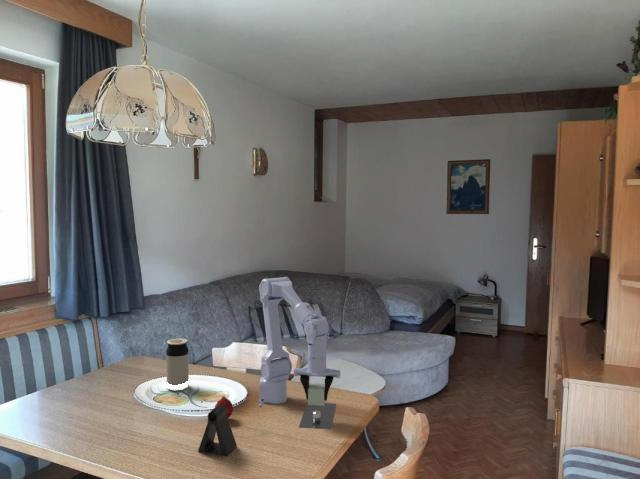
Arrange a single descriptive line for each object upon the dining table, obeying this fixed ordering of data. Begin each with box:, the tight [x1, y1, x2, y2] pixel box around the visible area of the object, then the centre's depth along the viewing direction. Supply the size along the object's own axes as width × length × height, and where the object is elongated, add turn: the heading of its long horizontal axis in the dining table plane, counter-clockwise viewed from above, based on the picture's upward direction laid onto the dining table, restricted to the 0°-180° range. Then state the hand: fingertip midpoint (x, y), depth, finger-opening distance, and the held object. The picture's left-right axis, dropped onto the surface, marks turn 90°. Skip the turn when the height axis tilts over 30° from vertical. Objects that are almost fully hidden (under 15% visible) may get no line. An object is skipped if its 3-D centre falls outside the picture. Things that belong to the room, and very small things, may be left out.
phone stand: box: [197, 404, 237, 457], centre depth 139 cm, size 9×6×12 cm, turn 75°
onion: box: [214, 395, 234, 418], centre depth 158 cm, size 6×6×8 cm
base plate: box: [298, 401, 337, 430], centre depth 160 cm, size 10×20×4 cm, turn 174°
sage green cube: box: [307, 382, 326, 406], centre depth 155 cm, size 5×5×5 cm
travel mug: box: [165, 338, 189, 385], centre depth 187 cm, size 8×8×18 cm
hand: (316, 399), depth 155 cm, fingers closed on sage green cube, 5 cm apart
